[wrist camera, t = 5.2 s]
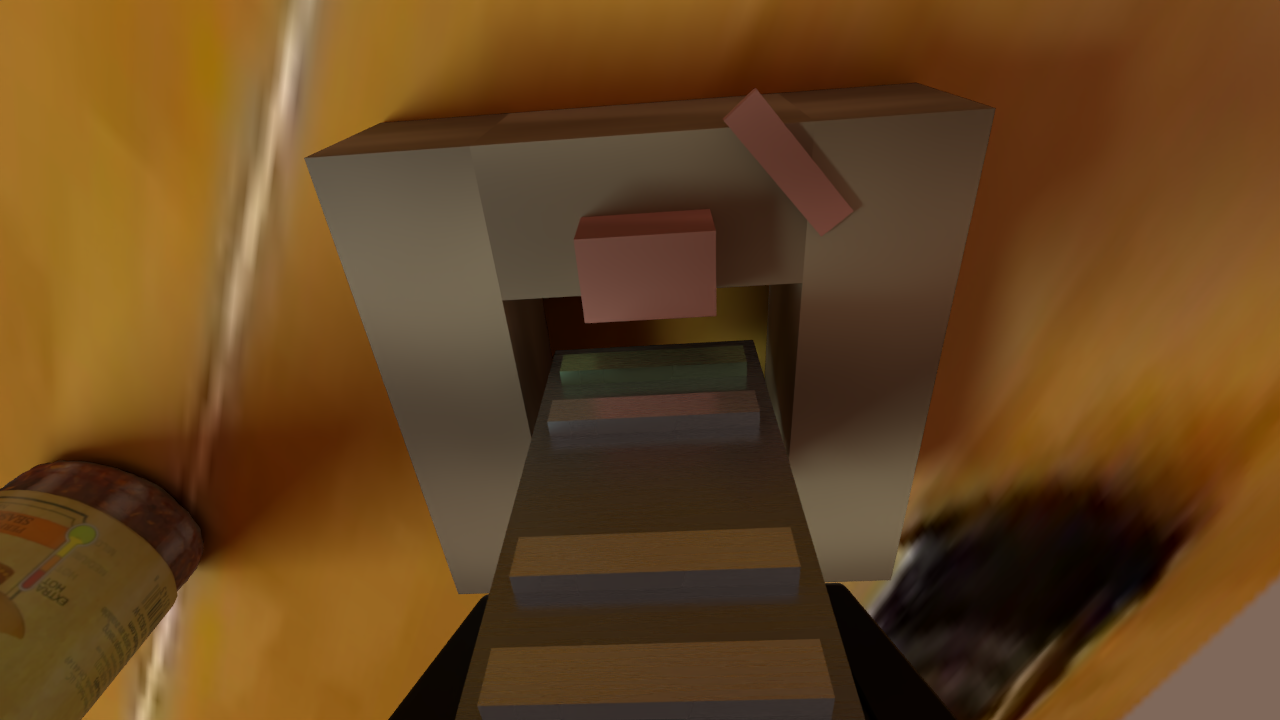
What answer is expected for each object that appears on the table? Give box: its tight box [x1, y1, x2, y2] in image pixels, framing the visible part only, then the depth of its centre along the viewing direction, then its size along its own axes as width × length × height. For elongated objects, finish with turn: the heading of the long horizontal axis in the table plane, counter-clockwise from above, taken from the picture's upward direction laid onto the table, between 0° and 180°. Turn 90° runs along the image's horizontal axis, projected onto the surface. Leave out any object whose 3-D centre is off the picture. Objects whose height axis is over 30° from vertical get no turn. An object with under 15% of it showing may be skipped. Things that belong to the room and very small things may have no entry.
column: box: [455, 340, 865, 720], centre depth 10 cm, size 5×4×8 cm
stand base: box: [304, 83, 996, 594], centre depth 14 cm, size 13×12×5 cm
